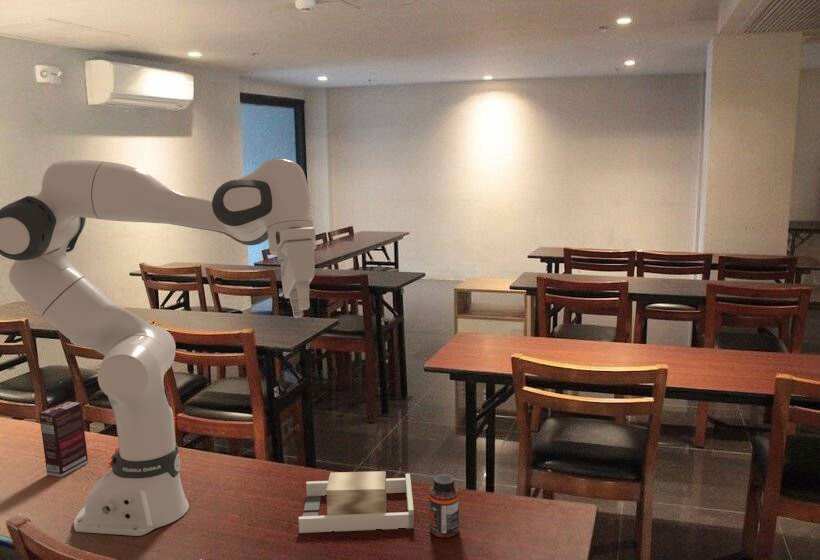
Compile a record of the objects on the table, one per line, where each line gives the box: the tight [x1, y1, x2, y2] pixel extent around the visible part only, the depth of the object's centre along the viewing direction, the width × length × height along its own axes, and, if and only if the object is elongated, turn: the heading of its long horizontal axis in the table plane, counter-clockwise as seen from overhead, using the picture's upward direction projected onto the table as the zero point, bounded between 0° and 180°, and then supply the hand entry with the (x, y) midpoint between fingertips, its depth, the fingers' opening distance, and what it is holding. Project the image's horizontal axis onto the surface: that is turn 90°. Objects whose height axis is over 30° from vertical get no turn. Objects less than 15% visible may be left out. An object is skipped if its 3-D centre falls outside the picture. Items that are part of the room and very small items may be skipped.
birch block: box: [326, 470, 388, 515], centre depth 145 cm, size 12×8×7 cm, turn 91°
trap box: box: [298, 473, 415, 534], centre depth 146 cm, size 23×16×4 cm
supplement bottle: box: [428, 473, 460, 539], centre depth 136 cm, size 6×6×11 cm
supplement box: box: [38, 400, 89, 478], centre depth 167 cm, size 9×5×16 cm, turn 159°
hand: (301, 313), depth 129 cm, fingers open, 8 cm apart
